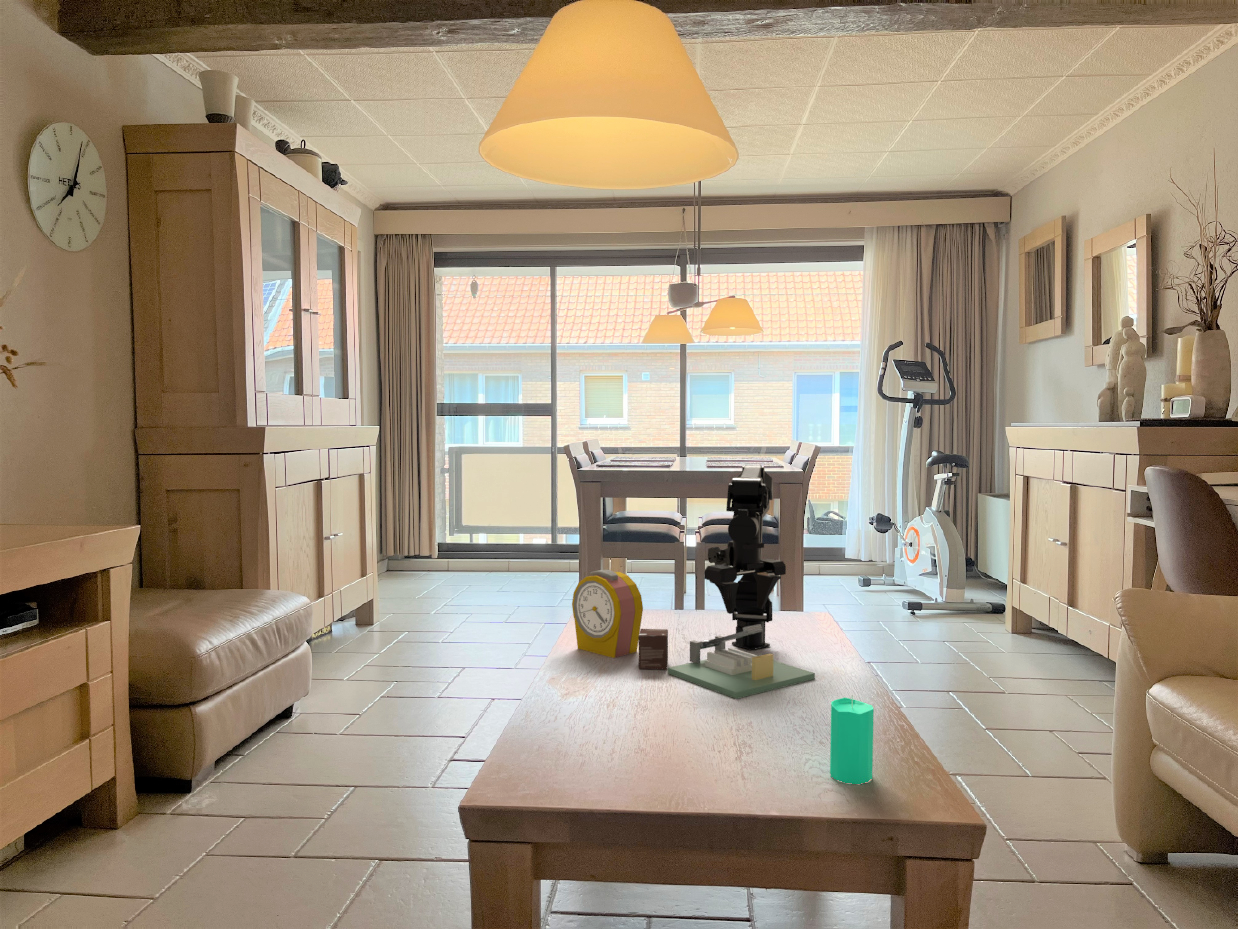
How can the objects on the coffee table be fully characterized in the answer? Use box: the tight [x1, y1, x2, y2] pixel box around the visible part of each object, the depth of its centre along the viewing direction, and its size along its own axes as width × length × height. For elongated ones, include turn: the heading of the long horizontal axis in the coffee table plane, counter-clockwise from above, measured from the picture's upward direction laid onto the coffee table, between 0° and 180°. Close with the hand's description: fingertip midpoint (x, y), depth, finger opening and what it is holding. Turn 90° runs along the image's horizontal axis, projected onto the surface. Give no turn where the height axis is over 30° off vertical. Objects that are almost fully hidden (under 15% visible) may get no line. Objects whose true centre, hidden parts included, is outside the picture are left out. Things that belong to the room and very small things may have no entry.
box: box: [638, 628, 669, 671], centre depth 178 cm, size 6×6×7 cm
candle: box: [829, 694, 875, 784], centre depth 121 cm, size 6×6×12 cm
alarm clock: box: [571, 569, 644, 659], centre depth 190 cm, size 15×8×18 cm, turn 47°
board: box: [667, 635, 816, 700], centre depth 171 cm, size 22×21×6 cm
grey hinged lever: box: [699, 624, 763, 650], centre depth 173 cm, size 5×16×2 cm, turn 36°
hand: (745, 610), depth 177 cm, fingers open, 9 cm apart
